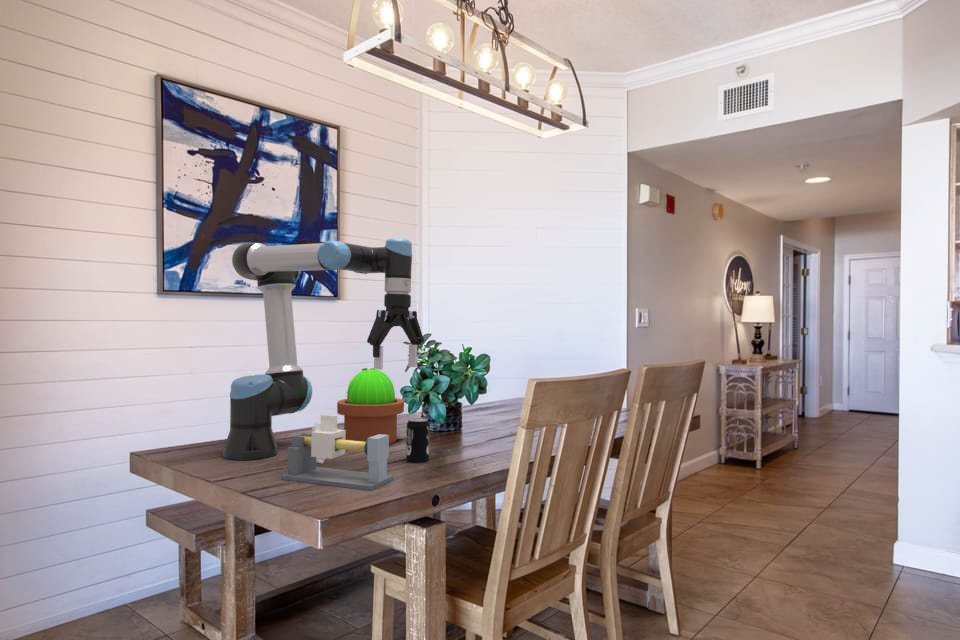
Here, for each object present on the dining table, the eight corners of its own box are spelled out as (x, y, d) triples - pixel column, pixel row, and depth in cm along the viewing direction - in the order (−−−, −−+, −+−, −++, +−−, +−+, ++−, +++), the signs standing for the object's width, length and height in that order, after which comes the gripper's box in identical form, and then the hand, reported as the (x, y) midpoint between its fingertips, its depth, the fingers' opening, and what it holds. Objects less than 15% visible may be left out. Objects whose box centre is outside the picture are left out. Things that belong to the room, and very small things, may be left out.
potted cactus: (399, 448, 193) (400, 369, 193) (330, 448, 193) (331, 369, 193) (406, 435, 215) (407, 365, 215) (344, 435, 215) (345, 364, 215)
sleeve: (311, 456, 154) (311, 416, 154) (325, 451, 160) (326, 413, 160) (331, 458, 152) (331, 417, 152) (345, 453, 158) (345, 414, 158)
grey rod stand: (282, 479, 154) (282, 432, 154) (308, 469, 164) (309, 426, 165) (371, 490, 145) (372, 441, 145) (393, 479, 155) (394, 433, 155)
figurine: (339, 462, 173) (339, 420, 173) (324, 465, 169) (324, 422, 169) (316, 457, 180) (317, 416, 180) (302, 460, 176) (302, 418, 176)
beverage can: (425, 463, 173) (425, 421, 173) (403, 462, 174) (403, 420, 174) (431, 458, 179) (432, 418, 179) (410, 457, 181) (410, 417, 181)
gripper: (374, 291, 161) (372, 371, 161) (436, 295, 181) (434, 366, 181) (355, 291, 166) (353, 369, 166) (418, 295, 186) (416, 365, 186)
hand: (395, 368), depth 174 cm, fingers open, 13 cm apart
